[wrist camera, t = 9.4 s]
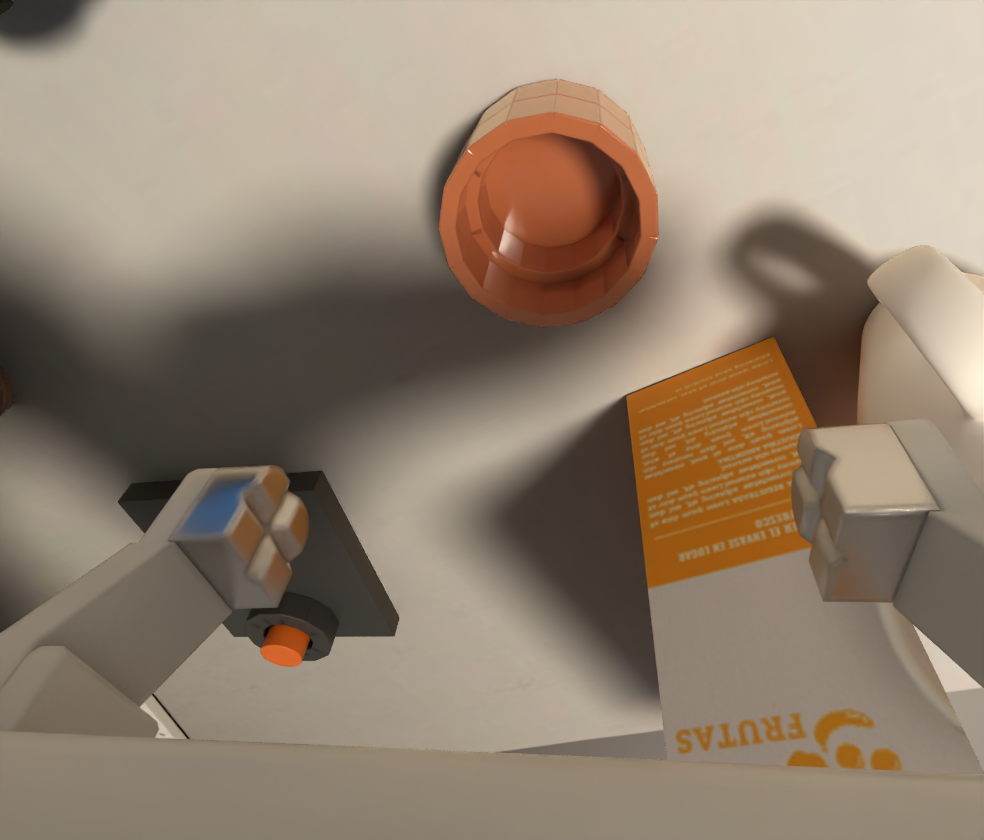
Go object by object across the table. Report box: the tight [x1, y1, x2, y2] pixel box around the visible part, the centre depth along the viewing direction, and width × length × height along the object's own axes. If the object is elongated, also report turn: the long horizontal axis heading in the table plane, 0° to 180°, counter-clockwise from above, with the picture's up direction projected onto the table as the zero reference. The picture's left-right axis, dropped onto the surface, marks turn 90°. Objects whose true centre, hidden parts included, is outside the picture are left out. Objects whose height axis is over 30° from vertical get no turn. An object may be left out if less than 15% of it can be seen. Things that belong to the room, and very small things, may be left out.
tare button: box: [261, 625, 310, 667], centre depth 37 cm, size 3×3×2 cm
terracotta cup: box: [439, 79, 659, 327], centre depth 19 cm, size 6×6×5 cm
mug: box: [857, 245, 984, 494], centre depth 17 cm, size 12×8×11 cm
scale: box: [118, 471, 399, 661], centre depth 36 cm, size 14×12×3 cm
